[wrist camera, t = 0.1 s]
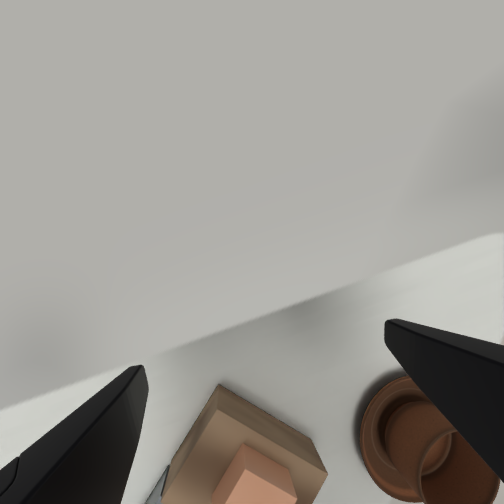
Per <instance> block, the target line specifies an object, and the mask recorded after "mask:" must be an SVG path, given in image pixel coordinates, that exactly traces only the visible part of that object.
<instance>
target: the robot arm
mask: <svg viewBox="0 0 504 504" xmlns="http://www.w3.org/2000/svg"><path fill="white" fill-rule="evenodd" d="M384 340H385V344H386V346H387V347H388V349H389V350H390V351H391V353H392V354H393V355H394V357H395V358H396V359H397V361H398V362H399V363H400V365H401V366H402V367H403V369H404V370H405V371H406V373H407V374H408V375H409V377H410V378H411V379H412V380H413V382H414V383H415V384H416V385H417V386H418V388H419V389H420V390H421V391H422V392H423V393H424V394H425V395H426V396H427V398H428V399H429V400H430V401H431V402H432V403H433V404H434V405H435V407H436V408H437V409H438V410H439V411H440V412H441V413H442V414H443V416H444V417H445V418H446V419H447V420H448V421H449V422H450V423H451V424H452V426H453V427H454V428H455V429H456V430H457V431H458V432H459V433H460V435H461V436H462V437H463V438H464V439H465V440H466V441H467V442H468V444H469V445H470V446H471V447H472V448H473V449H474V450H475V451H476V452H477V454H478V455H479V456H480V457H481V458H482V459H483V460H484V461H485V463H486V464H487V465H488V466H489V467H490V468H491V469H492V470H493V472H494V473H495V474H496V475H497V476H498V477H499V478H500V479H501V480H502V482H503V483H504V345H500V344H496V343H492V342H488V341H484V340H480V339H476V338H472V337H468V336H464V335H460V334H456V333H452V332H448V331H444V330H440V329H436V328H432V327H428V326H424V325H420V324H416V323H412V322H408V321H405V320H401V319H390V320H387V321H386V322H385V327H384ZM148 391H149V387H148V381H147V377H146V373H145V369H144V366H143V365H136V366H131V367H129V368H128V369H126V370H125V371H124V372H123V373H121V374H120V375H119V376H118V377H116V378H115V379H114V380H113V381H111V382H110V383H109V384H108V385H106V386H105V387H104V388H103V389H101V390H100V391H99V392H98V393H96V394H95V395H94V396H92V397H91V398H90V399H89V400H87V401H86V402H85V403H84V404H82V405H81V406H80V407H79V408H77V409H76V410H75V411H74V412H72V413H71V414H70V415H69V416H67V417H66V418H65V419H64V420H62V421H61V422H60V423H59V424H57V425H56V426H55V427H54V428H52V429H51V430H50V431H49V432H47V433H46V434H45V435H44V436H42V437H41V438H40V439H39V440H37V441H36V442H35V443H34V444H32V445H31V446H30V447H29V448H27V449H26V450H25V451H24V452H22V453H21V454H20V457H16V458H15V459H13V460H12V461H11V462H10V463H8V464H7V465H6V466H5V467H3V468H2V469H1V470H0V504H121V501H122V497H123V494H124V490H125V487H126V484H127V480H128V477H129V473H130V470H131V467H132V463H133V460H134V457H135V453H136V450H137V446H138V442H139V438H140V434H141V429H142V423H143V418H144V413H145V408H146V402H147V397H148Z"/></svg>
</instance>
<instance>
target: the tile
mask: <svg viewBox="0 0 504 504" xmlns="http://www.w3.org/2000/svg"><path fill="white" fill-rule="evenodd" d="M296 501H297V496H296V492H295V489H294V486H293V483H292V479H291V476H290V473H289V470H288V469H287V468H285V467H283V466H282V465H280V464H278V463H276V462H275V461H273V460H271V459H270V458H268V457H266V456H264V455H263V454H261V453H259V452H257V451H256V450H254V449H252V448H251V447H249V446H247V445H245V444H244V443H242V445H241V447H240V448H239V450H238V452H237V453H236V455H235V457H234V458H233V460H232V462H231V463H230V465H229V467H228V469H227V470H226V472H225V474H224V475H223V477H222V479H221V480H220V482H219V484H218V485H217V487H216V489H215V491H214V492H213V494H212V504H295V503H296Z"/></svg>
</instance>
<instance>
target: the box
mask: <svg viewBox="0 0 504 504" xmlns="http://www.w3.org/2000/svg"><path fill="white" fill-rule="evenodd" d="M169 468H170V466H169V465H168V467H167V469H166V470H165V472H164V473H163V475H162V477H161V478H160V480H159V482H158V483H157V485H156V486H155V488H154V490H153V491H152V493H151V495H150V496H149V498H148V499H147V501H146V503H145V504H163V503H161V498H162V494H163V491H164V487H165V483H166V479H167V476H168V472H169Z"/></svg>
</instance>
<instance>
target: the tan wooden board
mask: <svg viewBox="0 0 504 504" xmlns="http://www.w3.org/2000/svg"><path fill="white" fill-rule="evenodd" d="M242 443H244V444H245V445H247V446H249V447H251V448H252V449H254V450H256V451H257V452H259V453H261V454H263V455H264V456H266V457H268V458H270V459H271V460H273V461H275V462H276V463H278V464H280V465H282V466H283V467H285V468H287V469H288V470H289V473H290V476H291V479H292V483H293V486H294V489H295V492H296V496H297V501H296V503H295V504H312V503H313V501H314V499H315V497H316V496H317V494H318V492H319V490H320V488H321V486H322V485H323V483H324V481H325V479H326V477H327V475H328V473H327V471H326V469H325V467H324V465H323V463H322V461H321V459H320V457H319V454H318V452H317V450H316V448H315V446H314V444H313V442H312V440H311V439H309V438H308V437H306V436H304V435H303V434H301V433H299V432H298V431H296V430H294V429H293V428H291V427H289V426H288V425H286V424H284V423H283V422H281V421H279V420H278V419H276V418H274V417H272V416H271V415H269V414H267V413H266V412H264V411H262V410H261V409H259V408H257V407H256V406H254V405H252V404H251V403H249V402H247V401H246V400H244V399H242V398H241V397H239V396H237V395H236V394H234V393H232V392H231V391H229V390H227V389H226V388H224V387H222V386H220V385H219V384H218V386H217V388H216V389H215V391H214V392H213V394H212V396H211V397H210V399H209V400H208V402H207V404H206V405H205V407H204V409H203V410H202V412H201V413H200V415H199V417H198V418H197V420H196V422H195V423H194V425H193V426H192V428H191V430H190V431H189V433H188V435H187V436H186V438H185V439H184V441H183V443H182V444H181V446H180V447H179V449H178V451H177V452H176V454H175V456H174V457H173V459H172V461H171V465H170V468H169V472H168V476H167V479H166V483H165V487H164V491H163V494H162V498H161V503H163V504H212V494H213V492H214V491H215V489H216V487H217V485H218V484H219V482H220V480H221V479H222V477H223V475H224V474H225V472H226V470H227V469H228V467H229V465H230V463H231V462H232V460H233V458H234V457H235V455H236V453H237V452H238V450H239V448H240V447H241V445H242Z"/></svg>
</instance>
